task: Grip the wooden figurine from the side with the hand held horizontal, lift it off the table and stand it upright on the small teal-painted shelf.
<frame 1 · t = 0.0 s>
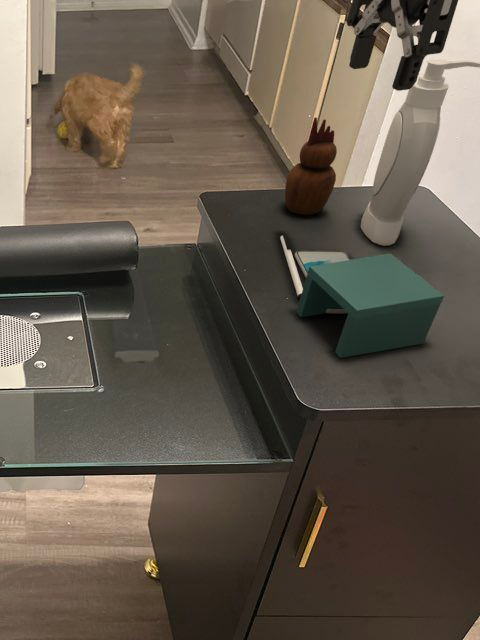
hand: (378, 78, 88), 25 cm above the table, tool pointing down, fingers open, 8 cm apart
soap bottle: (387, 232, 109), on the table
pen: (290, 269, 103), on the table
shelf: (357, 327, 91), on the table
smartphone: (333, 284, 99), on the table, touching shelf
wooden figurine: (302, 211, 115), on the table
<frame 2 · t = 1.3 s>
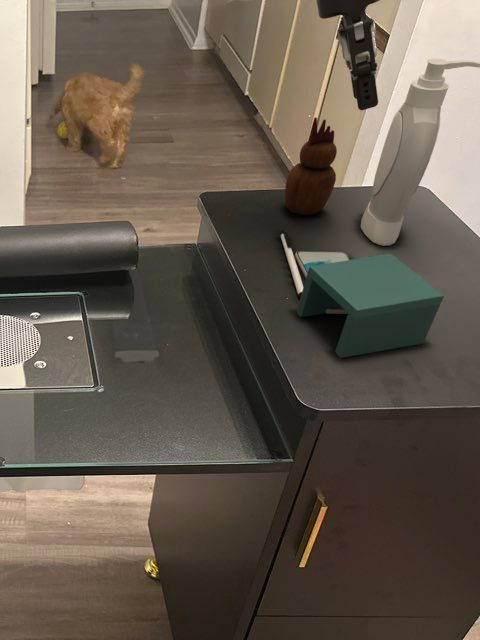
hand: (365, 102, 93), 21 cm above the table, tool tilted 25°, fingers open, 8 cm apart
smartphone: (333, 285, 99), on the table
everything else where it was.
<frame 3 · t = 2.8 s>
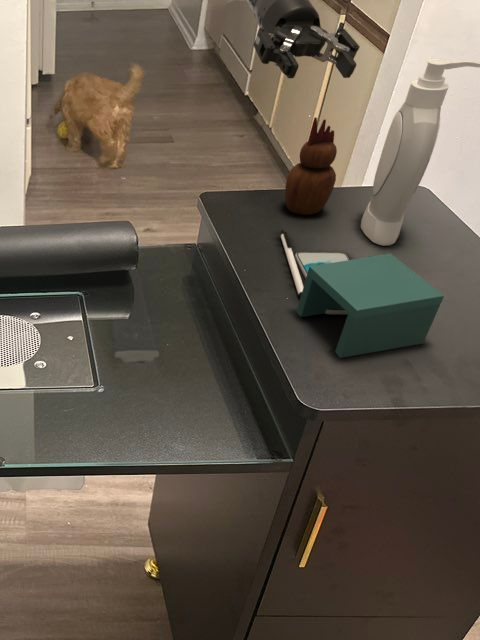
hand: (322, 72, 105), 20 cm above the table, tool horizontal, fingers open, 8 cm apart
nothing on the table moved.
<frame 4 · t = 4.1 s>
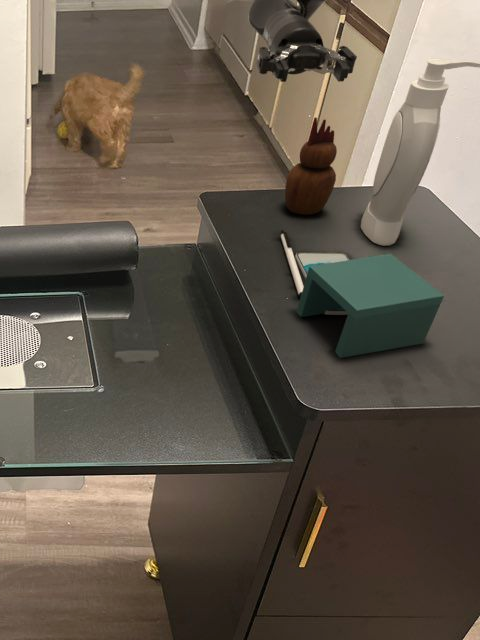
hand: (314, 75, 112), 17 cm above the table, tool horizontal, fingers open, 8 cm apart
nothing on the table moved.
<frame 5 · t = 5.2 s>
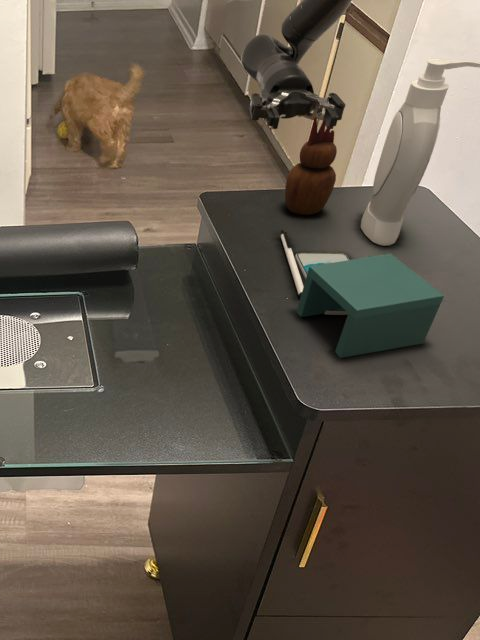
hand: (304, 123, 116), 10 cm above the table, tool horizontal, fingers open, 8 cm apart
nothing on the table moved.
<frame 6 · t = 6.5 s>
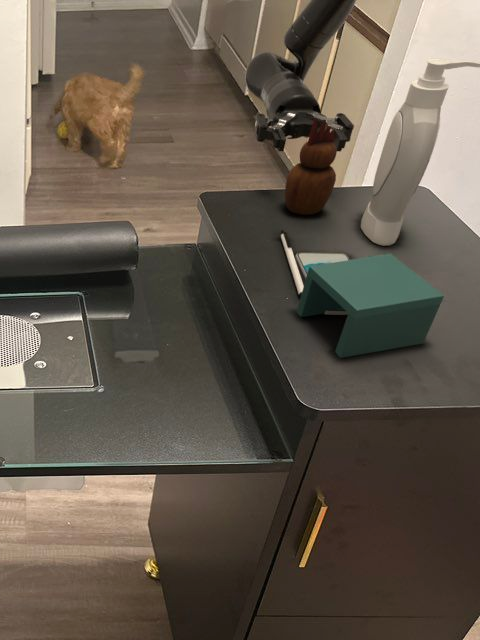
hand: (311, 145, 112), 9 cm above the table, tool horizontal, fingers open, 8 cm apart
nothing on the table moved.
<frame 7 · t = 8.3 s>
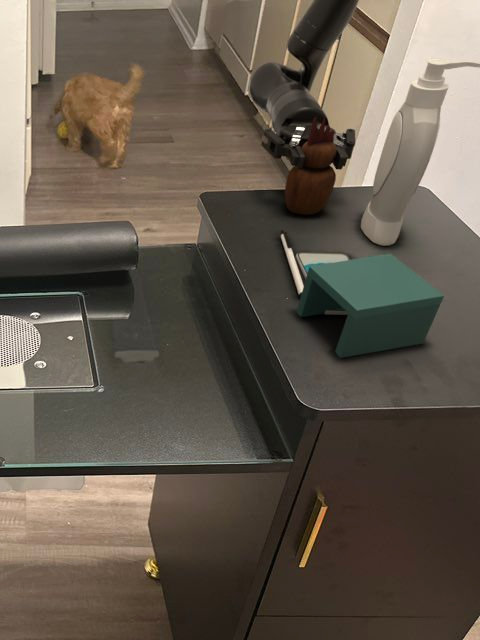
hand: (321, 163, 107), 9 cm above the table, tool horizontal, fingers closed on wooden figurine, 5 cm apart
wooden figurine: (302, 211, 115), on the table, touching gripper
everything else where it was.
when the fingers open (16 cm above the table, at t = 19.6 s): wooden figurine stays where it is, resting on shelf.
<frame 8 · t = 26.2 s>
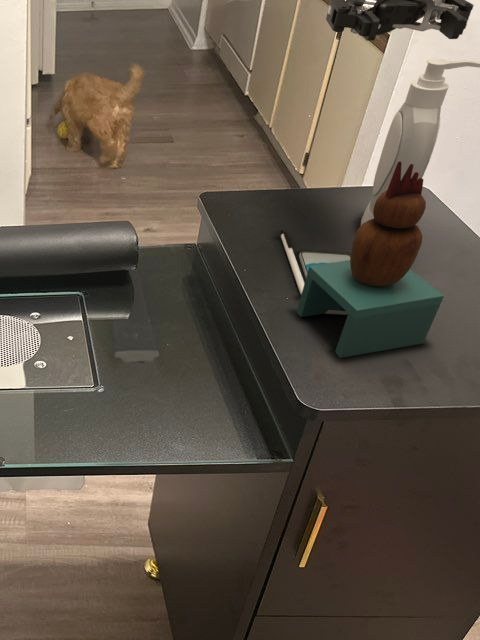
hand: (415, 30, 79), 32 cm above the table, tool horizontal, fingers open, 8 cm apart
wooden figurine: (372, 281, 87), point 7 cm above the table, touching shelf
everything else where it was.
at the end: wooden figurine inside the target area on the shelf (0.2 cm from its centre), point 6.8 cm above the shelf's base; wooden figurine tilted 0°; the gripper is holding nothing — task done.
